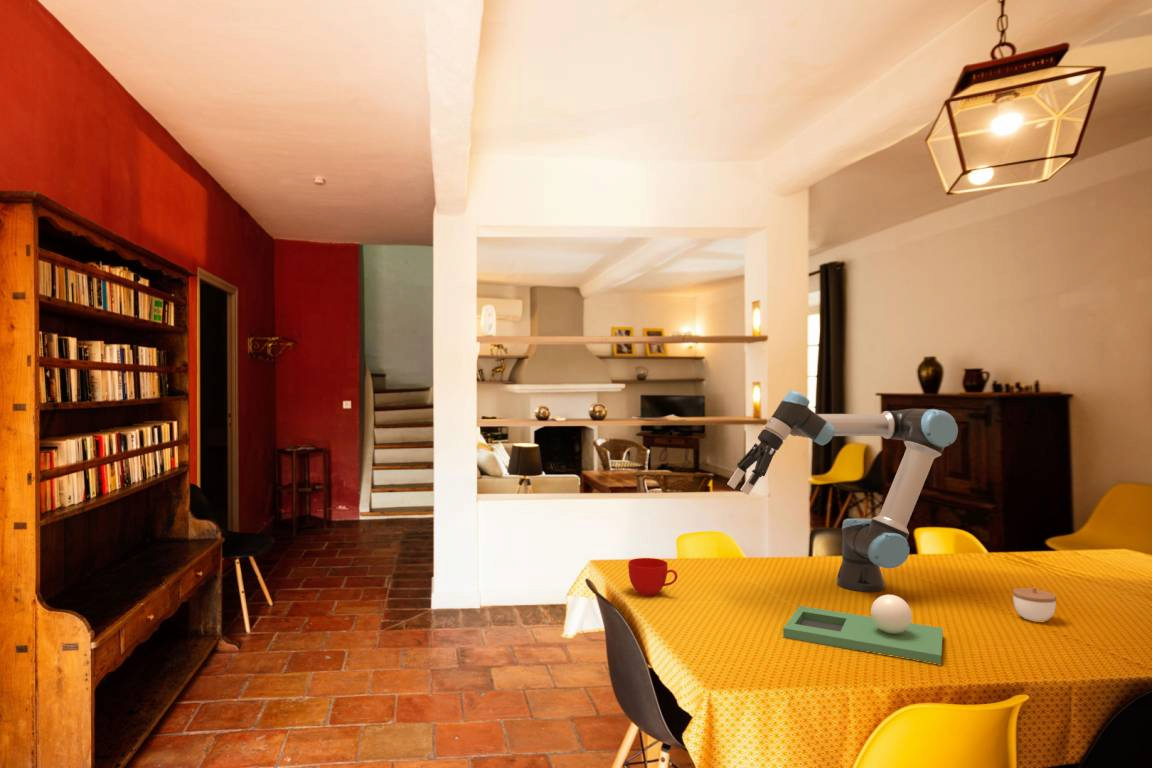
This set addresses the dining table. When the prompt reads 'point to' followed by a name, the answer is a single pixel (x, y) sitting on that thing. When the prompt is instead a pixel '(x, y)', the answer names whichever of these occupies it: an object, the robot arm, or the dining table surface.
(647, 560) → the ceramic cup
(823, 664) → the dining table surface
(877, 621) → the ball
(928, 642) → the putting board
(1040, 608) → the lidded jar
